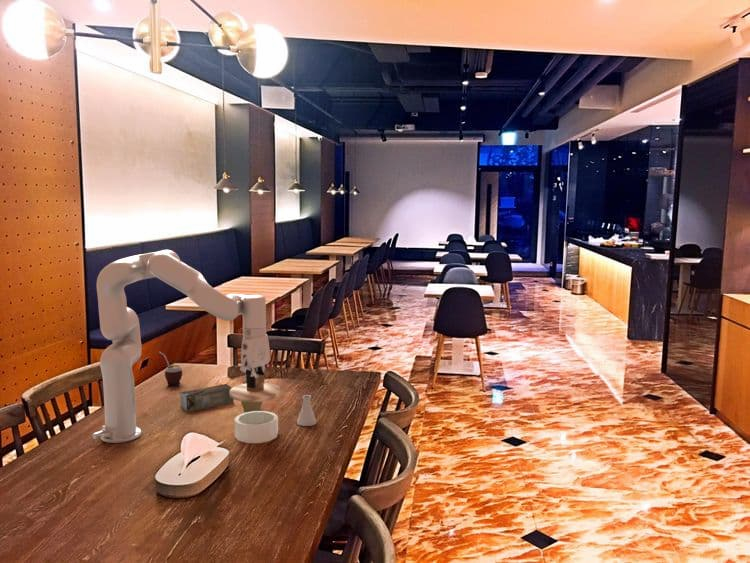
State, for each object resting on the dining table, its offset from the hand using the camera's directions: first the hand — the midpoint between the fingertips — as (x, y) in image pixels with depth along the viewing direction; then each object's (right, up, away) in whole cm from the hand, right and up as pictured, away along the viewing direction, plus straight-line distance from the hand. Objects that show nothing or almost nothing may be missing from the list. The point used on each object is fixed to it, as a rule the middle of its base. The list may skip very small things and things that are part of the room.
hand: (255, 385), depth 208 cm
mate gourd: (-46, -10, +55) cm, 73 cm away
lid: (0, -3, 0) cm, 3 cm away
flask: (+16, -16, +14) cm, 27 cm away
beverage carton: (-25, -13, +32) cm, 43 cm away
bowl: (0, -17, +2) cm, 18 cm away
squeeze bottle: (-6, -14, +26) cm, 30 cm away
